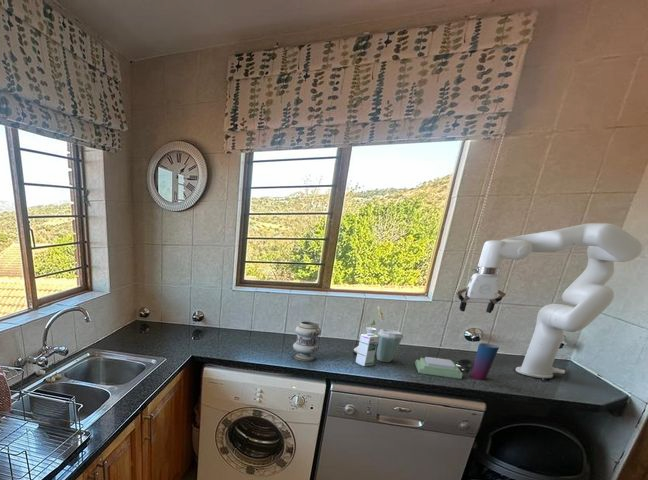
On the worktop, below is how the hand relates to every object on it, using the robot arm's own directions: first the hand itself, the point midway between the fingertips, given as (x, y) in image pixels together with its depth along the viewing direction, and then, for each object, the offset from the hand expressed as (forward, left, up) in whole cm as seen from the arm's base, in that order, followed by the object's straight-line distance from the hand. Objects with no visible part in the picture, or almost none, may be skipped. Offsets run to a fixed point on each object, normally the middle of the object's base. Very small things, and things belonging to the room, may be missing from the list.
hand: (475, 311), depth 174 cm
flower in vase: (+37, -8, -28) cm, 47 cm away
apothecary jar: (+65, +13, -28) cm, 72 cm away
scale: (+8, +4, -28) cm, 29 cm away
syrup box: (+38, +9, -28) cm, 48 cm away
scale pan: (+8, +4, -25) cm, 26 cm away
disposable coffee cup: (+29, -2, -28) cm, 40 cm away
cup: (-7, +6, -28) cm, 29 cm away
